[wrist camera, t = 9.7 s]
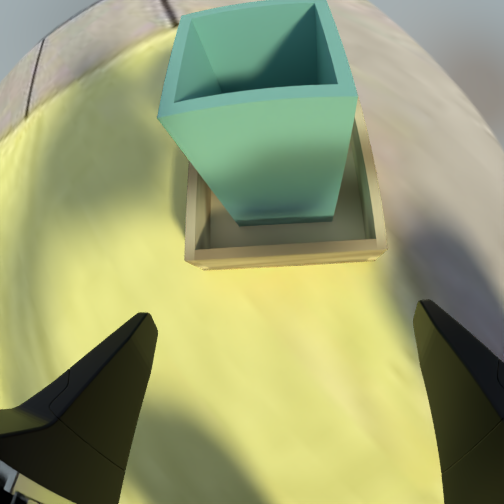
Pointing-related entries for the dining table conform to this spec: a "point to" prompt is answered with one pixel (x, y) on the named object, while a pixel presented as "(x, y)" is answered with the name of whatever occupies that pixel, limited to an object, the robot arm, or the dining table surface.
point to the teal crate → (263, 107)
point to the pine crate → (297, 234)
